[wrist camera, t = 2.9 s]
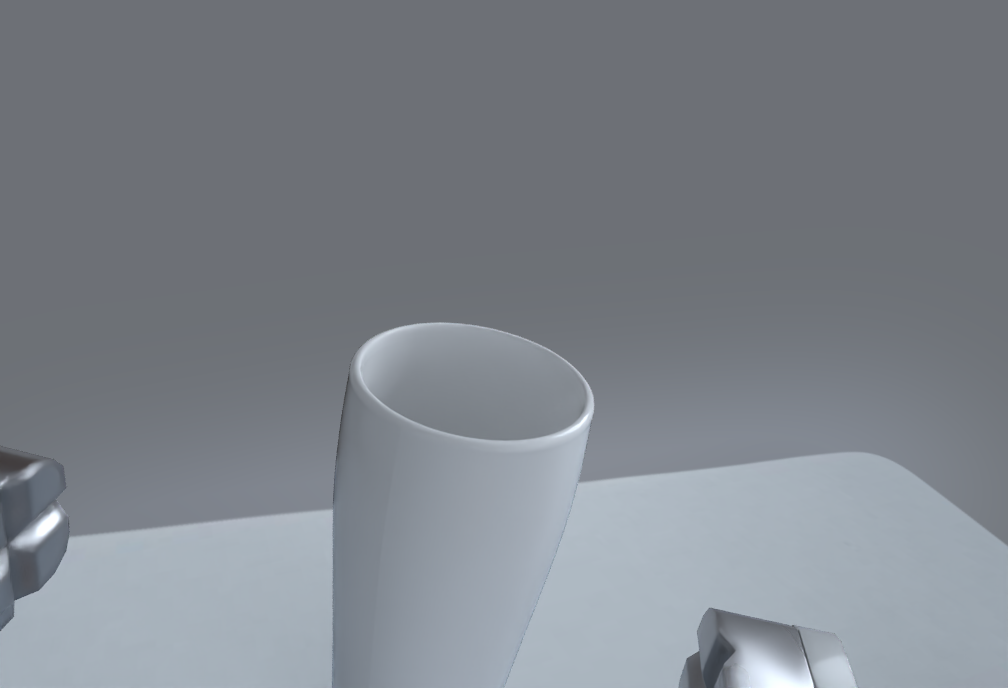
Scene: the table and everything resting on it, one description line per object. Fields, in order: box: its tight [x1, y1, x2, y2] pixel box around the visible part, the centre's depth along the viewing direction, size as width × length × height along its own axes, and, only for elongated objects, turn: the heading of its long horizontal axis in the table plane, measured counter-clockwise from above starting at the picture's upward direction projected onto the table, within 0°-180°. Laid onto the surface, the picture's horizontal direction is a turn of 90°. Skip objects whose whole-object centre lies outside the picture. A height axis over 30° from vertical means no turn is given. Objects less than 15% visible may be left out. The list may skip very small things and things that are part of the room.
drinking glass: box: [332, 323, 595, 688], centre depth 24 cm, size 7×7×15 cm
